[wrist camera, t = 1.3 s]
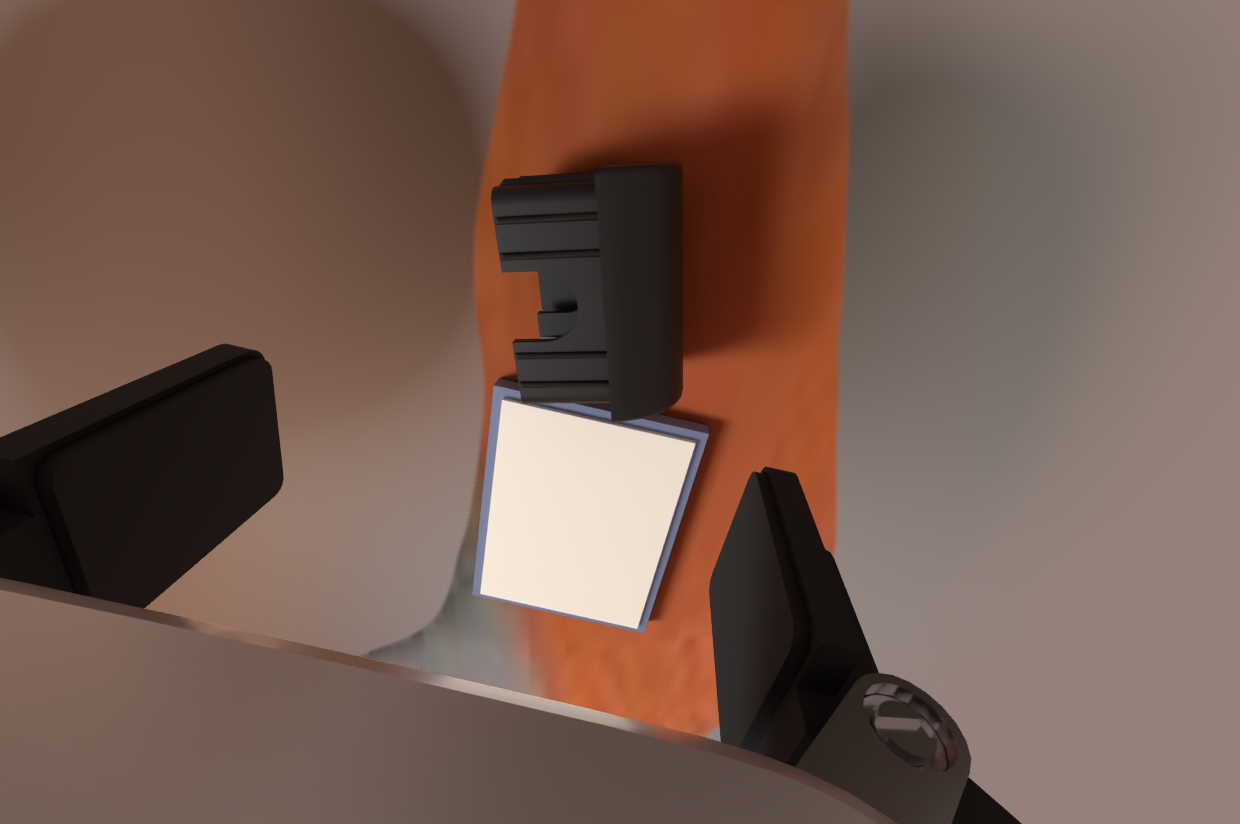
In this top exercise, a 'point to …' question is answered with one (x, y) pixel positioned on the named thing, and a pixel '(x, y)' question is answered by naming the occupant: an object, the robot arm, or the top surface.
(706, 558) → the top surface
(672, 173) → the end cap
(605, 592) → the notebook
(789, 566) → the robot arm
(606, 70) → the top surface
